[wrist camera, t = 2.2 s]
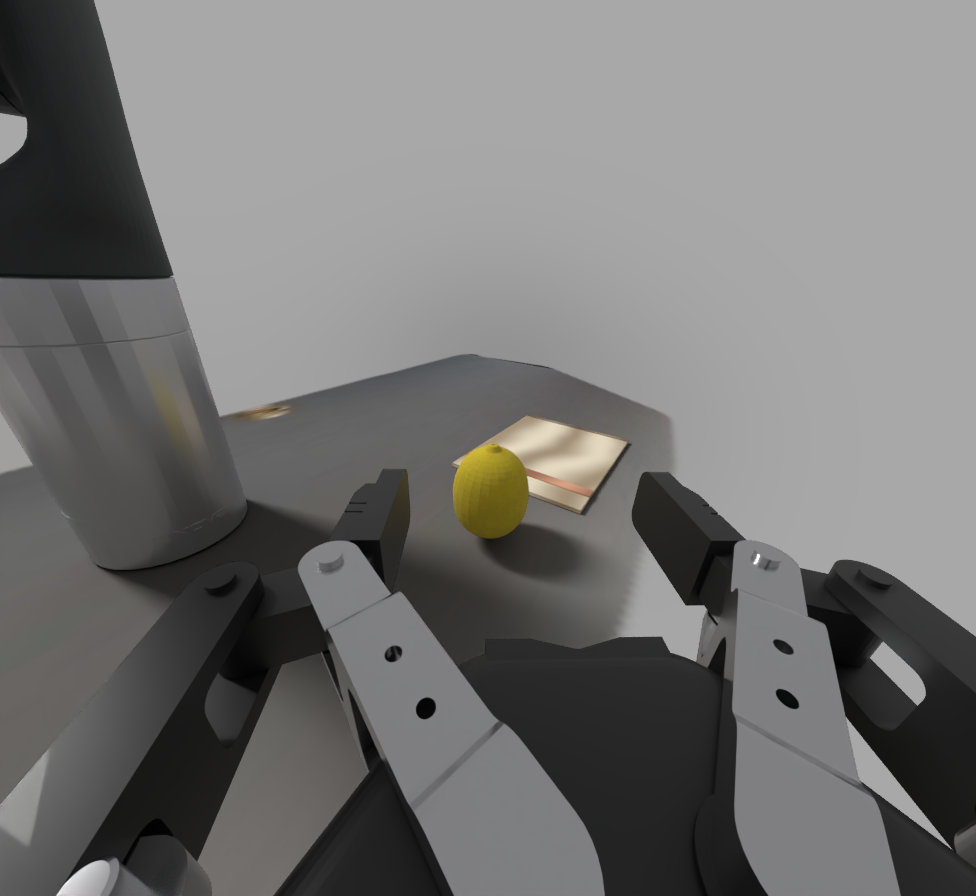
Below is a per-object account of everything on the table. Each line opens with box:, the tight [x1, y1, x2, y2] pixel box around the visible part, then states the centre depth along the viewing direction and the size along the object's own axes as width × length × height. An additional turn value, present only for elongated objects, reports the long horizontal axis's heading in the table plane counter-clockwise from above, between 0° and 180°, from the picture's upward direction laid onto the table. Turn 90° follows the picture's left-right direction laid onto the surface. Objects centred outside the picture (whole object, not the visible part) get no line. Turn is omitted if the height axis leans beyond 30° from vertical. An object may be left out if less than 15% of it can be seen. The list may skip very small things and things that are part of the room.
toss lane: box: [452, 415, 629, 514], centre depth 40 cm, size 14×18×1 cm
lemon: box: [453, 443, 529, 538], centre depth 26 cm, size 6×6×8 cm
